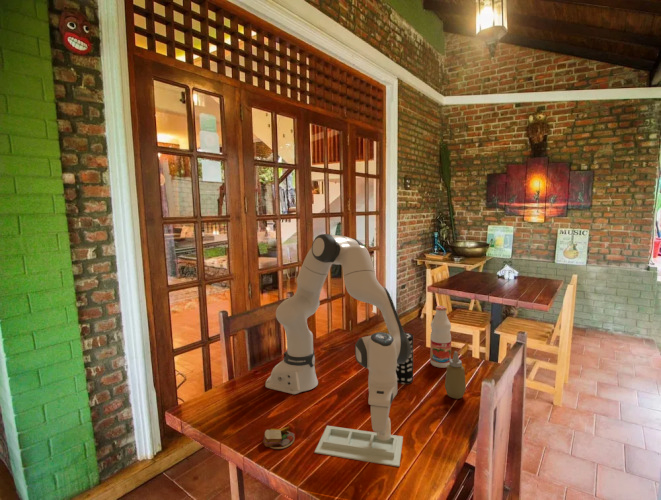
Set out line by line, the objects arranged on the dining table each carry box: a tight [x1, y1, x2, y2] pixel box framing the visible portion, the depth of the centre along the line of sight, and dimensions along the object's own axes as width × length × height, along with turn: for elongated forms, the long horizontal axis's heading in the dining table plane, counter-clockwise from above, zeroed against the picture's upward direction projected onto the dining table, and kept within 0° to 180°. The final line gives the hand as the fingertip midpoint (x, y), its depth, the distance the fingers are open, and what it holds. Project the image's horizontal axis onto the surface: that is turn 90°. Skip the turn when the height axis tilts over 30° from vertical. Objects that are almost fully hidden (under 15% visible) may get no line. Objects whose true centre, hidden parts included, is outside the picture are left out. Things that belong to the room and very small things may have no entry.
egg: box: [376, 416, 392, 441], centre depth 113 cm, size 4×4×7 cm
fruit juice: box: [429, 305, 452, 369], centre depth 173 cm, size 9×9×28 cm
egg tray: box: [314, 425, 404, 468], centre depth 116 cm, size 26×14×2 cm, turn 74°
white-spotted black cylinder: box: [396, 331, 414, 385], centre depth 158 cm, size 8×8×20 cm
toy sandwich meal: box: [262, 426, 296, 450], centre depth 119 cm, size 9×10×4 cm
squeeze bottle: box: [444, 351, 467, 400], centre depth 144 cm, size 8×8×18 cm
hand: (383, 428), depth 114 cm, fingers closed on egg, 4 cm apart
